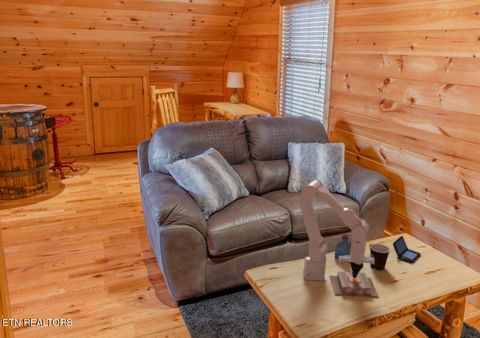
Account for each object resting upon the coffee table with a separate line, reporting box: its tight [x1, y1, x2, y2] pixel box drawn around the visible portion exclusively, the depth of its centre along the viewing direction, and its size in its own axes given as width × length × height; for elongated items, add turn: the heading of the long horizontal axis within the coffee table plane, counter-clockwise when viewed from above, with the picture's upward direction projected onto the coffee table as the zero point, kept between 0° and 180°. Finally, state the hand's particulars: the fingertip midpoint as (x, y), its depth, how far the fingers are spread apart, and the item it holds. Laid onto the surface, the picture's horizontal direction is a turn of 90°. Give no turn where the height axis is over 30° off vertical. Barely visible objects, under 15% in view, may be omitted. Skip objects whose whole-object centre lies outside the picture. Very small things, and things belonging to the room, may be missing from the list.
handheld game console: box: [392, 235, 421, 264], centre depth 203 cm, size 12×11×7 cm
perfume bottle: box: [334, 233, 352, 260], centre depth 199 cm, size 6×6×12 cm
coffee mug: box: [369, 243, 391, 272], centre depth 193 cm, size 12×9×10 cm
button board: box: [329, 271, 380, 298], centre depth 176 cm, size 18×14×4 cm
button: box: [348, 276, 360, 283], centre depth 176 cm, size 4×4×3 cm
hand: (354, 276), depth 175 cm, fingers closed
